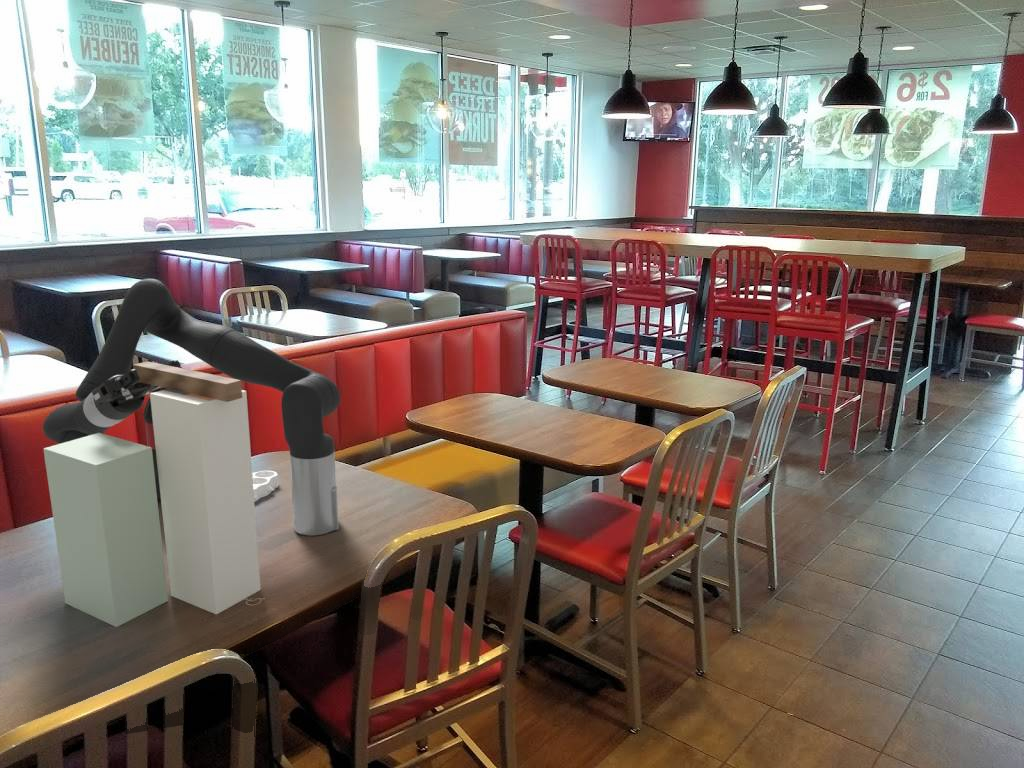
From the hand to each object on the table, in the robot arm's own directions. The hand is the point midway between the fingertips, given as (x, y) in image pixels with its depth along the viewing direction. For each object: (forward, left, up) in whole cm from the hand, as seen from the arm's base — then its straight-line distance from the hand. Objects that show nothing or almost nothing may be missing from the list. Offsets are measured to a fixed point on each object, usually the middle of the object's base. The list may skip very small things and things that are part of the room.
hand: (157, 369), depth 140 cm
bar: (-5, +5, -2) cm, 8 cm away
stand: (-7, +7, -41) cm, 42 cm away
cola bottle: (+6, -42, -41) cm, 59 cm away
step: (+10, +6, -41) cm, 42 cm away
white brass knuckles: (-10, -40, -41) cm, 58 cm away
